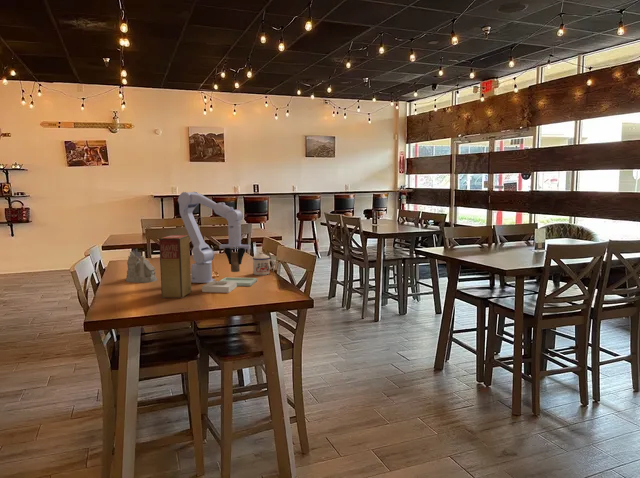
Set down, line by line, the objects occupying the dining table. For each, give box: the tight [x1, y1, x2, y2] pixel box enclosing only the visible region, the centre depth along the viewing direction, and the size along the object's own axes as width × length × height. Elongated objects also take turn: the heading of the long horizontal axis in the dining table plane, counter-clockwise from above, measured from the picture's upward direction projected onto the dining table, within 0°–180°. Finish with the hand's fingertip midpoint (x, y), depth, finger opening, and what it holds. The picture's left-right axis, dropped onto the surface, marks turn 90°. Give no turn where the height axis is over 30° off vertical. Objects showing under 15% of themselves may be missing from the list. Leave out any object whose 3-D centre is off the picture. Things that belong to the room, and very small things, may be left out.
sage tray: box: [219, 276, 258, 287], centre depth 225 cm, size 16×12×2 cm
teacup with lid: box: [252, 251, 276, 276], centre depth 249 cm, size 12×9×12 cm
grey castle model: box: [125, 250, 158, 284], centre depth 234 cm, size 16×16×15 cm
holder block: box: [201, 280, 238, 294], centre depth 212 cm, size 12×12×2 cm
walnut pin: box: [230, 251, 241, 273], centre depth 222 cm, size 4×4×9 cm
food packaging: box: [158, 234, 192, 299], centre depth 200 cm, size 13×9×25 cm
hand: (235, 264), depth 223 cm, fingers closed on walnut pin, 4 cm apart
